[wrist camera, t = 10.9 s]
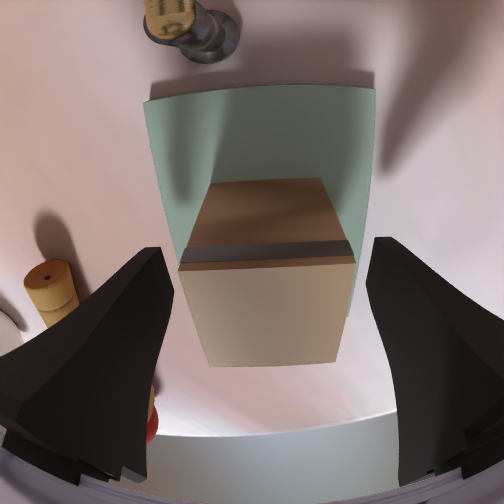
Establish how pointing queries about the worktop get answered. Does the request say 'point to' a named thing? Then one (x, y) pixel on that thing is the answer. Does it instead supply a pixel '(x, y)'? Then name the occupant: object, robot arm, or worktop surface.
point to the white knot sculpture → (9, 335)
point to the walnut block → (268, 274)
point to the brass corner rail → (191, 29)
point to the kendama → (66, 308)
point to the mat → (264, 147)
